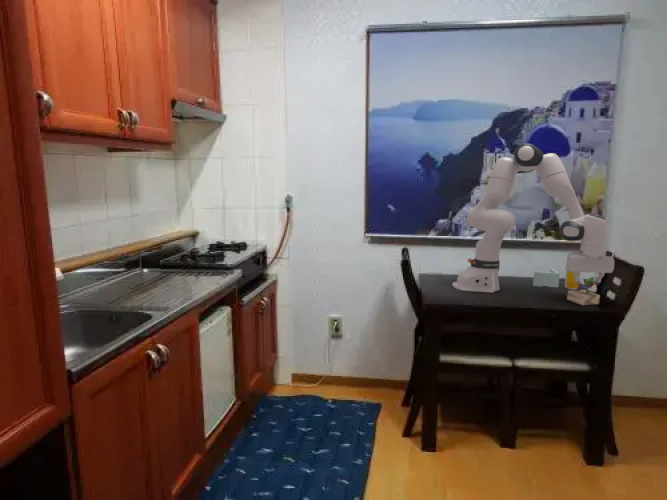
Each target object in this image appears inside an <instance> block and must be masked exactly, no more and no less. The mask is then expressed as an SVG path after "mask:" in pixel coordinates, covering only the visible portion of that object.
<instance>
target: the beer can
mask: <svg viewBox="0 0 667 500" xmlns="http://www.w3.org/2000/svg"><path fill="white" fill-rule="evenodd" d="M565 270H566V269H565ZM580 274H581V272H579V274H577V275H578V278H580V276H581V275H580ZM579 284H580V282H575V277H574V275H573V272H569V271H567V270H566V271H565V279H564V287H565V289H566V290H569V291H574V290H577V289H579Z"/></svg>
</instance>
